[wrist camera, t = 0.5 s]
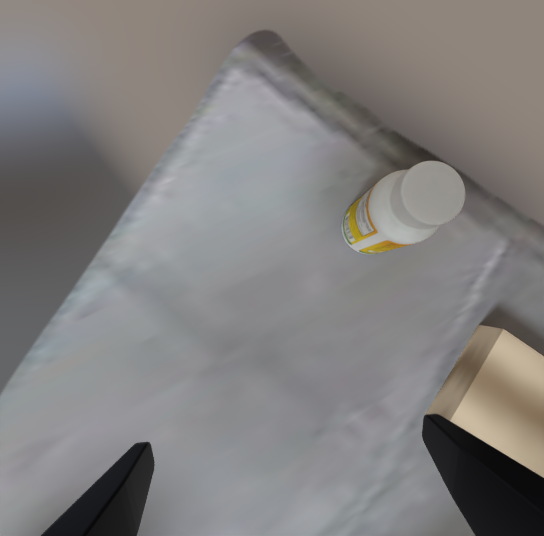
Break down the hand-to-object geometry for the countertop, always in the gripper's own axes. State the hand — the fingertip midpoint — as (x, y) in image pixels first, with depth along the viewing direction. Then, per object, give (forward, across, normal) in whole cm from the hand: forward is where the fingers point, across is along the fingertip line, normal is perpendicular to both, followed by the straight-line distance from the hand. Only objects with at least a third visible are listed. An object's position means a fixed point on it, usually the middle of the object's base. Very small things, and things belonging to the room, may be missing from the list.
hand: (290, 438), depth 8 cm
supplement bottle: (+18, -10, -5) cm, 21 cm away
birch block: (+13, -21, +12) cm, 27 cm away
